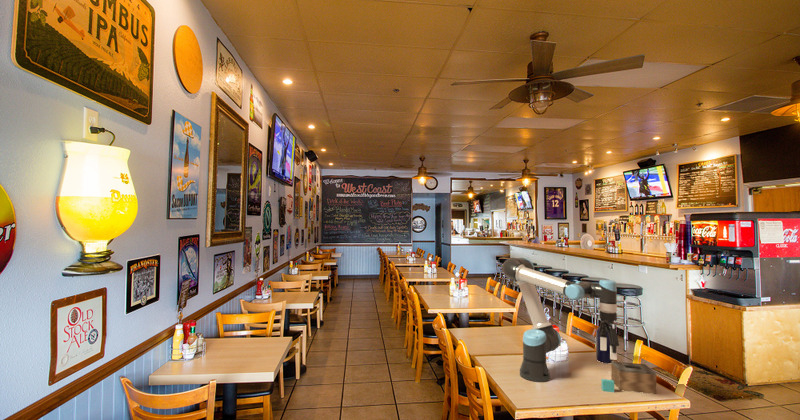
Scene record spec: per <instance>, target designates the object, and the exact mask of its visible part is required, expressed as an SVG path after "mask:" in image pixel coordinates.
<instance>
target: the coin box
mask: <svg viewBox="0 0 800 420" xmlns="http://www.w3.org/2000/svg"><path fill="white" fill-rule="evenodd" d="M610 366H611V368H610V370H611V372H610V373H611V375H610V377H611V379H610V380H613V381H614V386H615V387H616V388H617V387H618V388H617V389H618V390H619V391H621V390H624V391H623V392H631V391H634V392H633V393H640V392H643V394H650V393H653V394H652V395H657V372H655V371H654V370H653V369H652V368H650V367H649V366H648V365H647V364H645V363H636V362H635V363H633V362H626V361H625V362H624V361H614V360H613V361H611V364H610Z"/></svg>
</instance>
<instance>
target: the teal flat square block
mask: <svg viewBox="0 0 800 420" xmlns="http://www.w3.org/2000/svg"><path fill="white" fill-rule="evenodd" d="M601 391H602V392H607V393H609V392H610V393H615V384H614V381H613V380H611V379H607V378H601Z"/></svg>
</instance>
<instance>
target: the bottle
mask: <svg viewBox="0 0 800 420" xmlns="http://www.w3.org/2000/svg"><path fill="white" fill-rule="evenodd" d="M599 328H600V326H599V327H597V328H596V329H595V355H596V356H595V359H597V360H598V361H600V362H599V363H602V362H603V364H608V363H611V361H614V360H612V359H610V344H611V342H610V338H609V335H608V333H607V334H606V335H607V337H606V338H607V351H604V350H600V334H599ZM597 360H596V361H597ZM598 361H597V362H598Z"/></svg>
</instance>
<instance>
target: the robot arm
mask: <svg viewBox="0 0 800 420" xmlns="http://www.w3.org/2000/svg"><path fill="white" fill-rule="evenodd" d="M501 269H502V274H504V275H505V276H506V277H507V278H508V279H510V280H511V279H512V280H513V281H514V283H515V284H517V285H518V286H519V289H520V293H521V295H522V298H523V300H524V303H525V307H526V309H527V312H528V315H529V318H530V321H531V323H532V327H531V329H527V330H525V331H524V332H523V336H522V362H521V364H520V368H519V376H520V377H521V378H523V379H525V380H527V381H532V382H538V383H542V382H543V383H544V382H548V381H549V380H550V378H551V377H550V370H549V368H548V365H547V354H548V353H550V352H552V351H553V352H554V351H555V350H556V349H558V348H559V347H560V345H561V341H562V340H561V335H560V333H559V332H558V330H557V329H555V328H554V325H553V324H552V323H551V322H549V321H548V317H547V315H546V313H545V312H546V311H545V310H544V307H543V305H542V302H541V298H540V297H539V293H538V291H537V290H538V289H537V288H536V286H538V287H541V288H542V289H546V290H549V291H552V292H554V293H558V294H560V295H564V296H566V297H567V298H568V299H569V300H571V301H579V300H582V299H584V298H594V299H599V305H598V306H599V310H600V311H599V319H600V323H599V327H600V328H599V334H600V350H604V351H607V338H606V337H607V335H606V334H607V333H608V335H609V338H610V342H611V344H610V359H612V360H613V361H614V360H615V361H617V360H618V347H619V346H620V342H619V338H618V331H617V324H614V322H615V321H617V320H618V315H617V314H618V313H617V311H618V309H617V308H618V307H619V305H618V303H617V299H618V297H617V296H618V295H617V294H618V290H617V282H616V281H615V280H610V279H600V280H599V281H598V283H597V282H592V281H591V282H590V281H584V280H583V281H582V280H581V281H580V280H577V281H576V282H574V281H570V280H566V279H563V278H560V277H558V276H554V275H551V274H547V273H544V272H542V271H538V270H535V265H534V264H533V262H532V260H530V259H528V258H525V257H517V258H514V257H513V258H512V257H511V258H508V259H506V260H505V261H504V262H503V264H502V268H501Z"/></svg>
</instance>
